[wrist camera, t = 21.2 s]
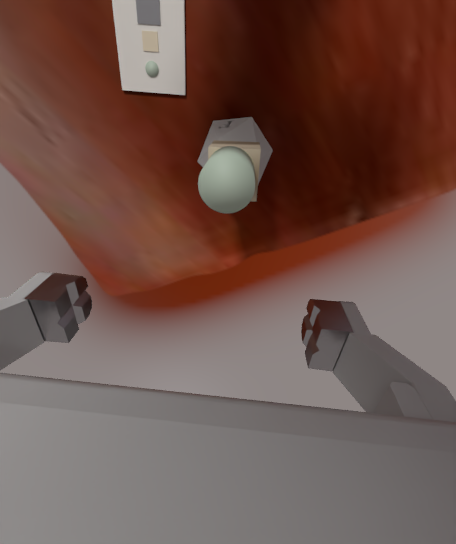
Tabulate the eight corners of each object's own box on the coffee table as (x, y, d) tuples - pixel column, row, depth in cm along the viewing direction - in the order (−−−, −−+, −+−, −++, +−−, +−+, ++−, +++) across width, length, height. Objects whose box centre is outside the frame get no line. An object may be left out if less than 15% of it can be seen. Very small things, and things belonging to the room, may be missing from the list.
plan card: (110, -21, 30) (109, -23, 30) (184, -16, 30) (183, -17, 29) (123, 90, 35) (122, 90, 35) (185, 95, 35) (185, 95, 35)
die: (281, 135, 37) (258, 94, 29) (272, 200, 38) (247, 178, 29) (226, 139, 41) (191, 103, 32) (219, 198, 41) (182, 179, 32)
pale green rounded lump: (198, 157, 27) (188, 168, 23) (244, 137, 26) (243, 145, 22) (217, 202, 29) (211, 220, 25) (261, 186, 28) (262, 202, 24)
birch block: (214, 140, 31) (208, 147, 26) (259, 142, 30) (260, 149, 26) (214, 186, 33) (208, 199, 29) (255, 188, 33) (256, 201, 29)
